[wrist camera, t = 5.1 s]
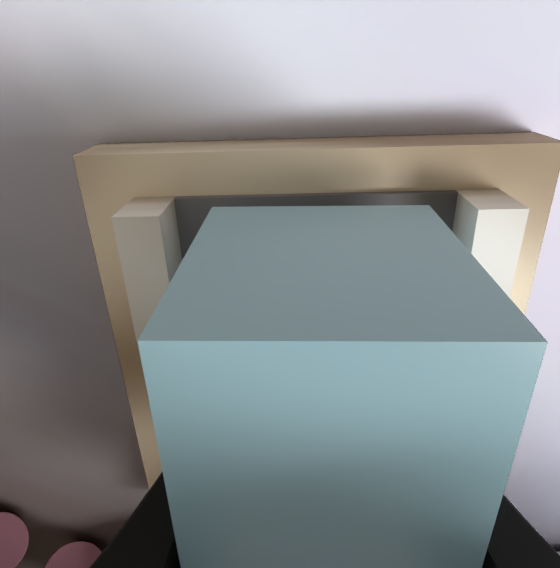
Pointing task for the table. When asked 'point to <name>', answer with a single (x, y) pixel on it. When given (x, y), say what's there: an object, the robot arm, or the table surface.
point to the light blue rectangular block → (335, 390)
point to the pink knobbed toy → (14, 542)
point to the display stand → (301, 192)
